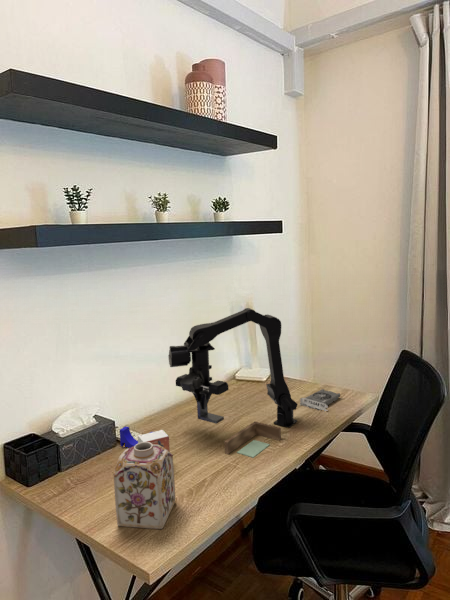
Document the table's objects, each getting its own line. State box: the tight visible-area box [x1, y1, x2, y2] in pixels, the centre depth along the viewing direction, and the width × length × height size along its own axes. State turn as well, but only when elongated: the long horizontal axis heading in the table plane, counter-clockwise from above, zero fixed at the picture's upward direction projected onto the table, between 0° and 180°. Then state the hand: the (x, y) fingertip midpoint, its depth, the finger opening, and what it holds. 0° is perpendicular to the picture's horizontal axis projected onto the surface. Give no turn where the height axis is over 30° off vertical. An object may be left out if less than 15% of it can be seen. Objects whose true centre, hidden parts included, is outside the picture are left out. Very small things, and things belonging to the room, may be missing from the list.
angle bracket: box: [196, 399, 225, 425], centre depth 153 cm, size 8×4×6 cm, turn 54°
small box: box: [137, 429, 171, 453], centre depth 135 cm, size 8×6×10 cm
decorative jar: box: [112, 442, 176, 530], centre depth 112 cm, size 12×12×18 cm
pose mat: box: [236, 439, 271, 459], centre depth 146 cm, size 10×6×1 cm, turn 144°
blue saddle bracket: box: [119, 426, 153, 449], centre depth 150 cm, size 12×4×6 cm, turn 63°
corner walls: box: [224, 421, 282, 455], centre depth 147 cm, size 18×10×4 cm, turn 144°
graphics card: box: [299, 388, 341, 412], centre depth 182 cm, size 17×4×12 cm
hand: (202, 408), depth 155 cm, fingers closed on angle bracket
